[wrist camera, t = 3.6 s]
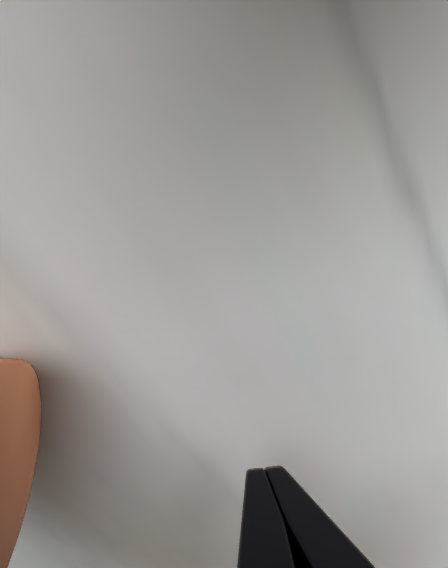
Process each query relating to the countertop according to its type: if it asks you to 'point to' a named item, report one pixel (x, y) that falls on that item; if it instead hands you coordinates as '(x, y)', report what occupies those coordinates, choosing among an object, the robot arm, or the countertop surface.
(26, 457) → the lynch pin
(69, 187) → the countertop surface
